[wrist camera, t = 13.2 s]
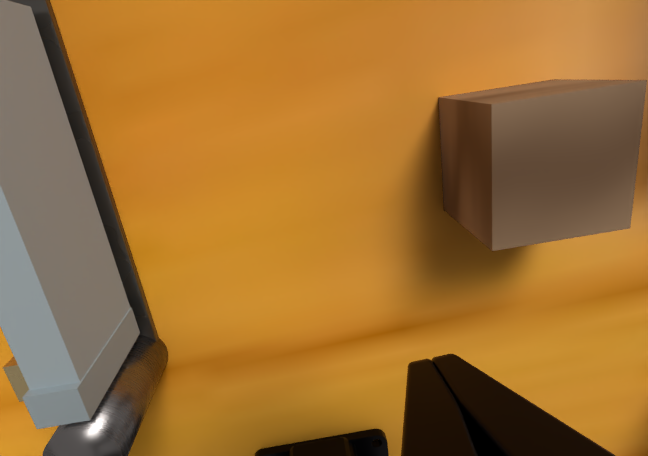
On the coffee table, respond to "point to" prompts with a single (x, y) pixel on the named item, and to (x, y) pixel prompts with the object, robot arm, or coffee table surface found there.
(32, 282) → the grey block
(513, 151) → the walnut block
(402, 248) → the coffee table surface
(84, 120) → the dark grey long piece
